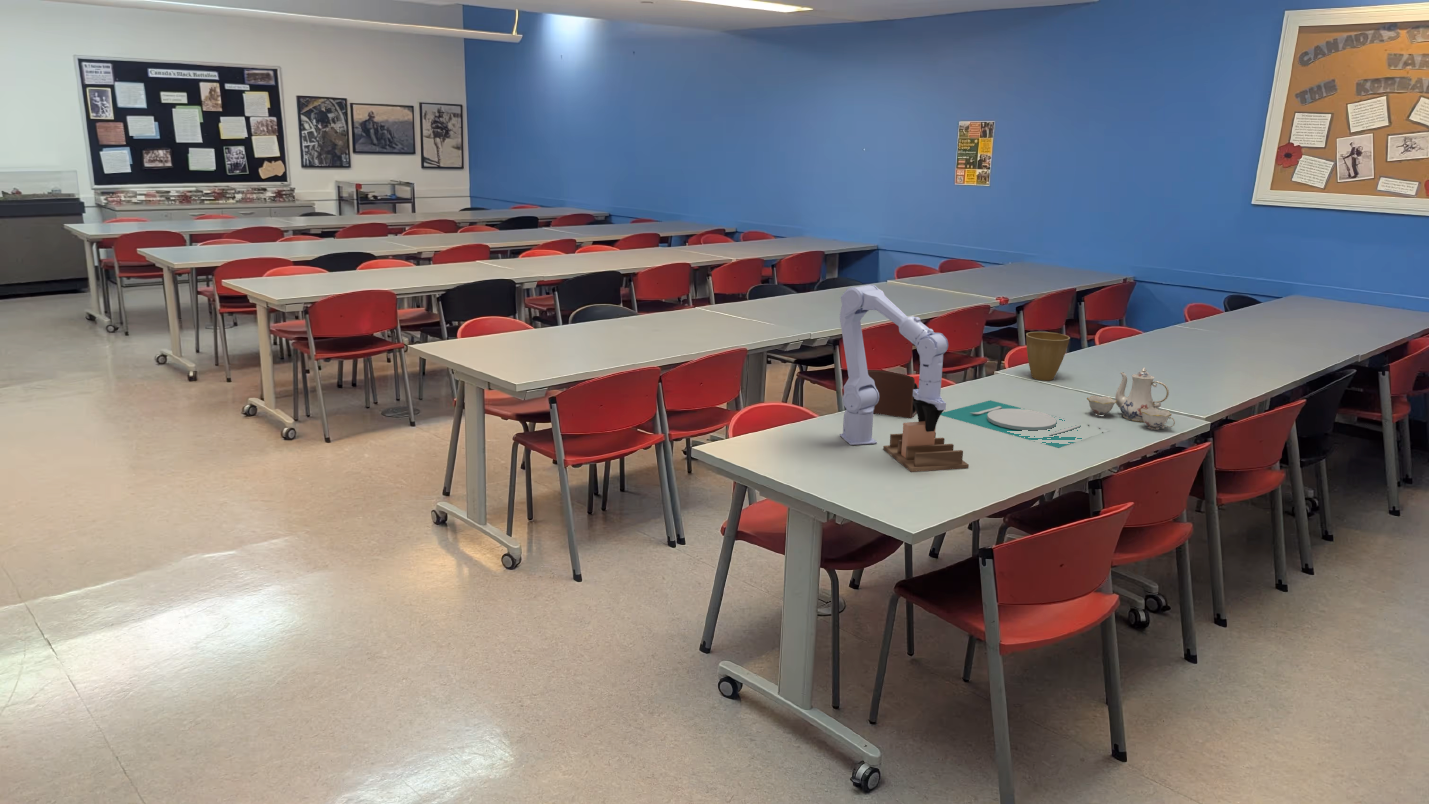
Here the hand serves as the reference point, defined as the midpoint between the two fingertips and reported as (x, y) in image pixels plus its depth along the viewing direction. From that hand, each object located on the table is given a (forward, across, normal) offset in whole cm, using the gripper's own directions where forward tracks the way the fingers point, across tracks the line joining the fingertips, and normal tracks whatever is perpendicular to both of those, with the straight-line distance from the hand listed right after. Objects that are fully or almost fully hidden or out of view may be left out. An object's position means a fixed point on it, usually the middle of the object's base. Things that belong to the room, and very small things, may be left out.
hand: (926, 429), depth 244 cm
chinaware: (+9, -18, +81) cm, 83 cm away
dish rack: (+8, 0, 0) cm, 8 cm away
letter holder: (+9, -46, +10) cm, 48 cm away
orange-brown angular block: (+7, 0, -2) cm, 8 cm away
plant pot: (+8, -72, +86) cm, 112 cm away
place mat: (+9, -24, +45) cm, 52 cm away
